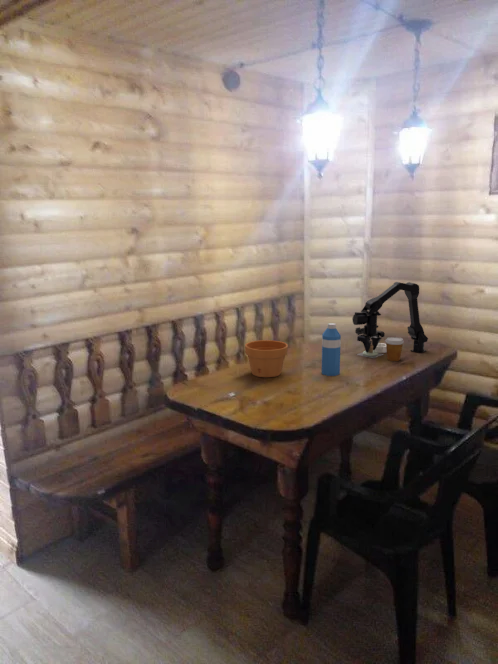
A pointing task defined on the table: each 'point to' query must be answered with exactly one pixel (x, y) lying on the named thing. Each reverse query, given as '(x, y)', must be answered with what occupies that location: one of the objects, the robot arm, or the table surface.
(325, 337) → the water bottle
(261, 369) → the flower pot
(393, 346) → the disposable coffee cup
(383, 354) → the coaster
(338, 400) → the table surface
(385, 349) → the bowl
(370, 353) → the lid
